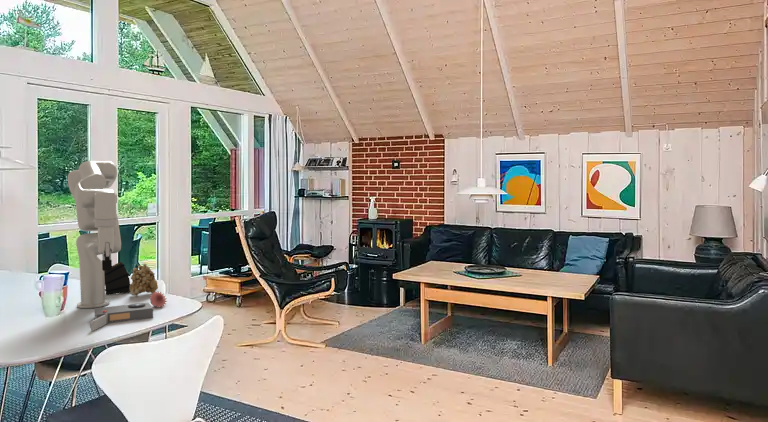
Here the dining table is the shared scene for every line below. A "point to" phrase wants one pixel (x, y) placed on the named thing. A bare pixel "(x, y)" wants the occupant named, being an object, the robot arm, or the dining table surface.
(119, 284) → the black ridged block
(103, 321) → the port door
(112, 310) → the camera body
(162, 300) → the flower
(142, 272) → the mineral formation
